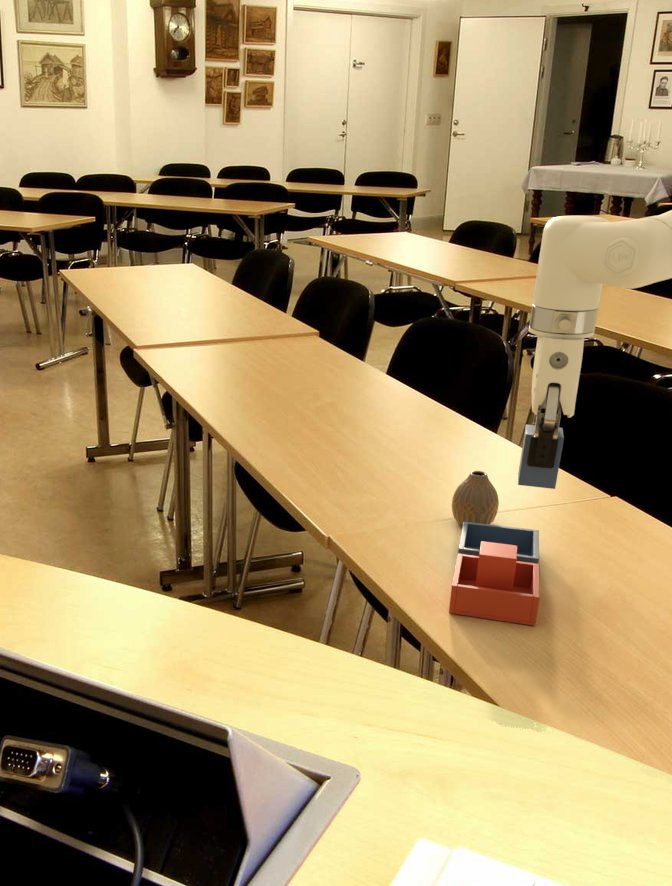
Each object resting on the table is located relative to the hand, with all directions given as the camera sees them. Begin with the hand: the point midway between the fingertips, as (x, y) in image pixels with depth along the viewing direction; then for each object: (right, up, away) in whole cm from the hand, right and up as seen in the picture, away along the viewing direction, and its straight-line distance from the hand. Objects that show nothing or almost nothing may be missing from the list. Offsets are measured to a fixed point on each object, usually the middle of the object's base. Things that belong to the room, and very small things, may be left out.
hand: (540, 458), depth 119 cm
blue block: (0, -3, +1) cm, 3 cm away
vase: (0, -9, +25) cm, 27 cm away
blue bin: (-1, -15, +12) cm, 19 cm away
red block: (-6, -18, +1) cm, 19 cm away
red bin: (-6, -19, +1) cm, 20 cm away
